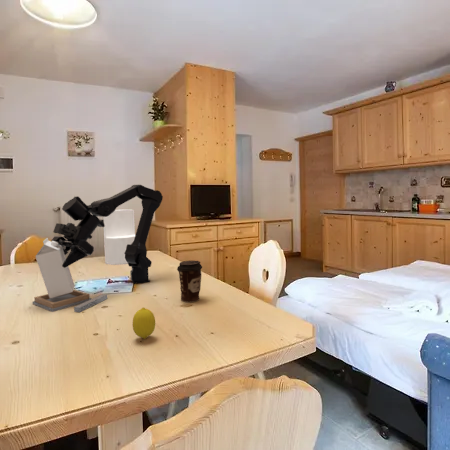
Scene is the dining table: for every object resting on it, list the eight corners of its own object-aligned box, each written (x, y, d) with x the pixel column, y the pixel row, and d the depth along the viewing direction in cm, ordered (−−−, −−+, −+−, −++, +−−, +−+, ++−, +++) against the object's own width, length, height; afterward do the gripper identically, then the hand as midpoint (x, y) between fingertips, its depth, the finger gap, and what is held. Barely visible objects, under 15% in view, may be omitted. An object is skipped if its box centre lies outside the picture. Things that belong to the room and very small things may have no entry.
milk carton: (49, 299, 111) (31, 244, 107) (53, 292, 117) (36, 240, 114) (72, 292, 113) (55, 238, 109) (75, 286, 119) (58, 234, 115)
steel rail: (102, 298, 119) (102, 294, 119) (107, 298, 118) (107, 294, 118) (74, 311, 106) (74, 307, 105) (79, 312, 105) (79, 307, 105)
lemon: (135, 334, 87) (133, 304, 86) (157, 333, 88) (155, 303, 87) (131, 344, 82) (129, 312, 81) (154, 343, 82) (153, 310, 81)
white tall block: (99, 261, 186) (97, 210, 183) (128, 257, 198) (126, 209, 195) (113, 266, 173) (110, 211, 171) (143, 261, 185) (141, 209, 182)
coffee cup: (207, 297, 118) (206, 260, 117) (197, 304, 110) (196, 265, 109) (184, 295, 121) (183, 259, 119) (173, 302, 113) (172, 264, 112)
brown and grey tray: (71, 294, 125) (70, 288, 125) (91, 300, 117) (91, 294, 116) (32, 304, 114) (32, 297, 114) (52, 311, 106) (51, 304, 106)
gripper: (54, 213, 121) (24, 249, 114) (83, 215, 110) (51, 254, 102) (77, 233, 128) (50, 267, 121) (105, 236, 117) (78, 274, 110)
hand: (56, 265), depth 113 cm, fingers closed on milk carton, 9 cm apart
